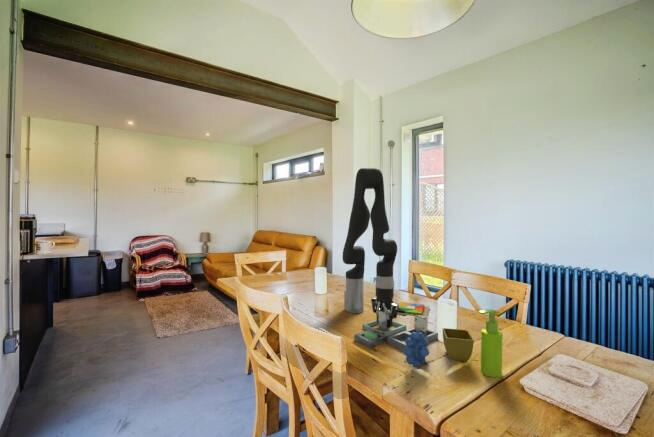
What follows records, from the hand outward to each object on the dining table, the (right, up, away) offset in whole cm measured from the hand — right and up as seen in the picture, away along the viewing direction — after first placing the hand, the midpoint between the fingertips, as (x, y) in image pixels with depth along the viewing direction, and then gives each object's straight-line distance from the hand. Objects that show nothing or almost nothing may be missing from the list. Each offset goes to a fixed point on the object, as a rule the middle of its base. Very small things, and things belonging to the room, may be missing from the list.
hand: (384, 325), depth 131 cm
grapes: (+5, -4, -31) cm, 31 cm away
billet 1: (0, -2, 0) cm, 2 cm away
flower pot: (+21, -3, -24) cm, 32 cm away
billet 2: (+13, -2, -9) cm, 16 cm away
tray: (0, -3, 0) cm, 3 cm away
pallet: (+9, -3, -12) cm, 15 cm away
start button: (-7, -3, -12) cm, 14 cm away
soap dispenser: (+27, -4, -33) cm, 43 cm away
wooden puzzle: (+18, -3, +26) cm, 32 cm away
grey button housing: (-7, -3, -12) cm, 14 cm away
